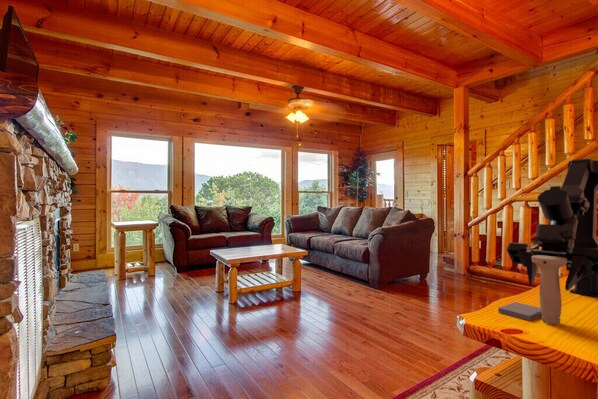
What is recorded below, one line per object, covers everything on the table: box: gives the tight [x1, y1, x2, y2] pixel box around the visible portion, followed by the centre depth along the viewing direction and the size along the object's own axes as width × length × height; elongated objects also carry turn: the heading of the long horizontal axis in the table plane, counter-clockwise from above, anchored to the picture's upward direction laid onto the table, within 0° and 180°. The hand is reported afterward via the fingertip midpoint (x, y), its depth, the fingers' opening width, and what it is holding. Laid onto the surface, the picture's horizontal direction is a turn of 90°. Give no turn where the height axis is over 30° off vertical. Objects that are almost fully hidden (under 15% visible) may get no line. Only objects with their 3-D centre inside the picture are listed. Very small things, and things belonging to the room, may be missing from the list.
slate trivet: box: [497, 301, 543, 322], centre depth 81 cm, size 8×7×1 cm
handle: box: [532, 255, 567, 326], centre depth 75 cm, size 5×6×15 cm
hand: (547, 286), depth 74 cm, fingers open, 6 cm apart
